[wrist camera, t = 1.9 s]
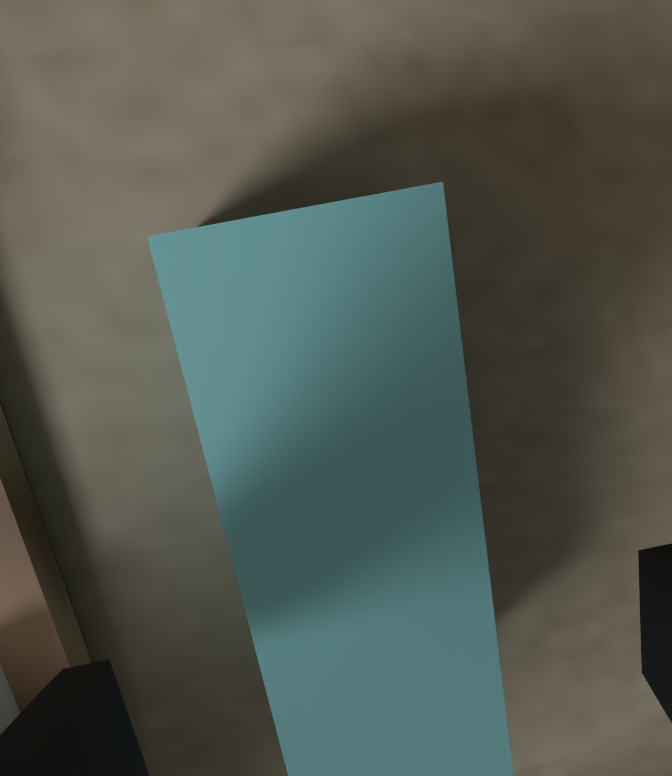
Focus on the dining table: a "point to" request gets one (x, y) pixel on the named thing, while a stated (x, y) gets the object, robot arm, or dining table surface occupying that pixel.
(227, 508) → the teal rectangular block
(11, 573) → the wooden bracket tray
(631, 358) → the dining table surface
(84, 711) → the robot arm
